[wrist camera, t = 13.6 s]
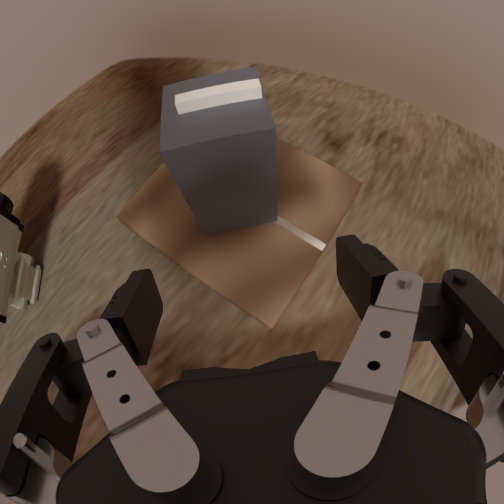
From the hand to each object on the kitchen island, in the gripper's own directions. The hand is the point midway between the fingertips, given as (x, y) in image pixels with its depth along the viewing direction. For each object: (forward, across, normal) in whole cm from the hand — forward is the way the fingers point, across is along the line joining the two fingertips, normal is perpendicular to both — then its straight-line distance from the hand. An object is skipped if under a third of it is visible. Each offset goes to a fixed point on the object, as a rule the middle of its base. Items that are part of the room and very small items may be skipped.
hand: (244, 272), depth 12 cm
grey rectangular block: (+12, 0, 0) cm, 12 cm away
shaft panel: (+13, 0, 0) cm, 13 cm away
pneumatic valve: (+10, +22, +4) cm, 25 cm away
